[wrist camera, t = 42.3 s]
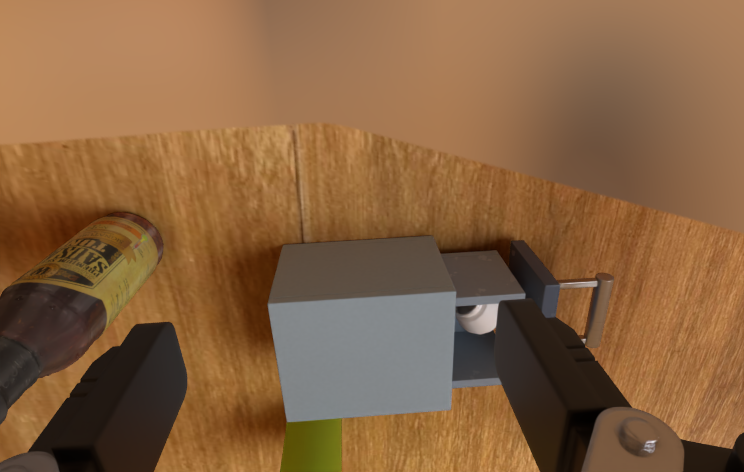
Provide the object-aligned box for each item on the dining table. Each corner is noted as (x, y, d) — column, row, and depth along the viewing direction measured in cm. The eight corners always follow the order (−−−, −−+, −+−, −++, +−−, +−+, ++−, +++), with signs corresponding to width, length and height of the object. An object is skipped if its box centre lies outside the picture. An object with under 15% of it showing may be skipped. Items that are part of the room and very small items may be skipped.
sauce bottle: (157, 205, 39) (-2, 364, 21) (173, 269, 42) (45, 458, 24) (78, 210, 39) (-150, 375, 21) (100, 274, 41) (-85, 469, 23)
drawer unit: (432, 235, 42) (456, 291, 33) (430, 337, 47) (451, 410, 38) (282, 244, 41) (266, 304, 33) (297, 347, 46) (286, 422, 37)
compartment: (590, 235, 42) (641, 279, 35) (573, 328, 46) (615, 384, 39) (386, 248, 41) (395, 295, 34) (388, 341, 45) (397, 400, 38)
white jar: (451, 316, 42) (490, 346, 38) (430, 309, 40) (469, 339, 36) (477, 269, 42) (519, 294, 38) (458, 260, 40) (500, 285, 36)
